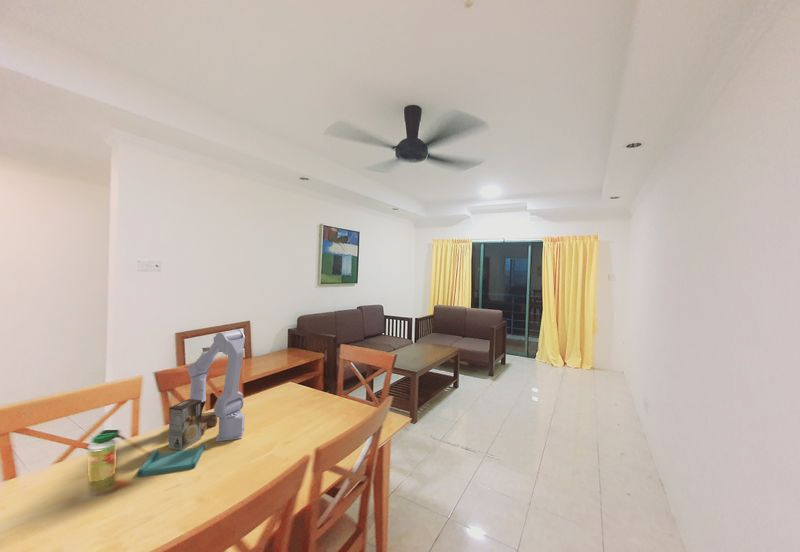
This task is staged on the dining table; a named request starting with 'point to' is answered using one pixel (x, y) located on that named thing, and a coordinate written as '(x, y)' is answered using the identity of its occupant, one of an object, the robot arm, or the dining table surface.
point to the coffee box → (185, 424)
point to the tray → (171, 461)
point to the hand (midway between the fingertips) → (197, 419)
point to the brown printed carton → (208, 421)
